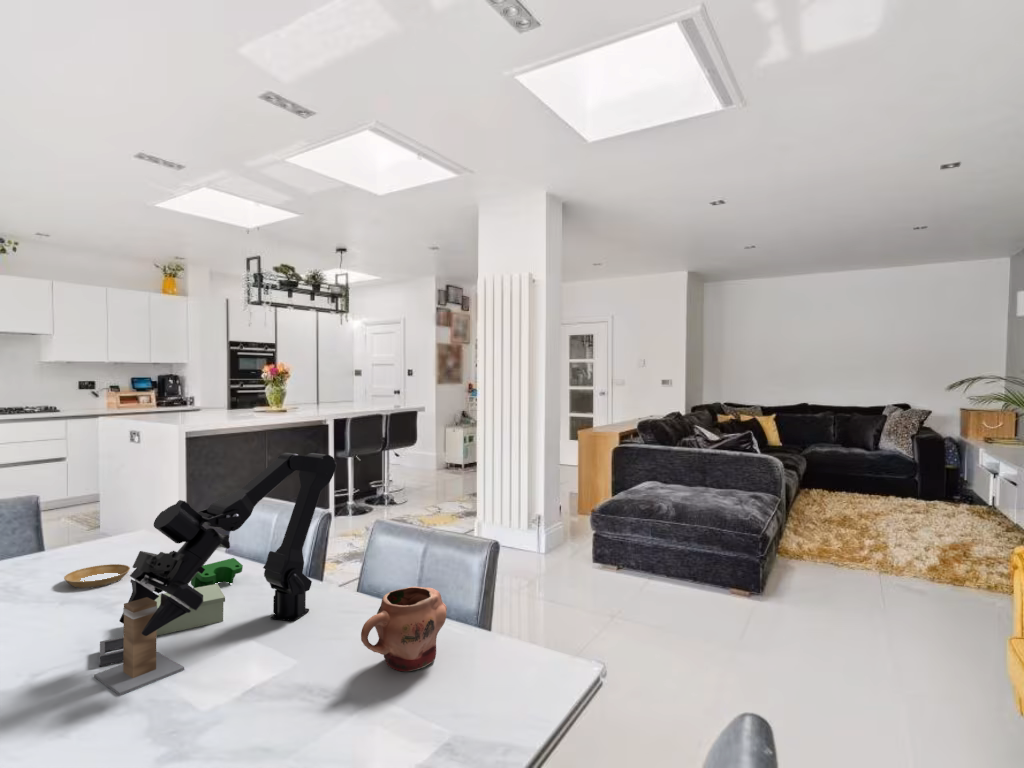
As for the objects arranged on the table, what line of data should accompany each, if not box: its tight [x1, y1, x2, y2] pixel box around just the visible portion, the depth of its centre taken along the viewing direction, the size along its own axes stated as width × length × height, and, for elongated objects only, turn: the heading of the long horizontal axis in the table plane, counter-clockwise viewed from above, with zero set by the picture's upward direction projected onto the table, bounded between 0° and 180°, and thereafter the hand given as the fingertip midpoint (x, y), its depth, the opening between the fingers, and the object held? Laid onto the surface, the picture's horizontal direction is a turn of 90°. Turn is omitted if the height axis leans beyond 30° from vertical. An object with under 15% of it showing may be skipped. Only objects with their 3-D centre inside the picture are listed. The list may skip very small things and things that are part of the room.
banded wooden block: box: [122, 597, 158, 678], centre depth 107 cm, size 4×4×13 cm
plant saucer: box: [63, 563, 131, 589], centre depth 155 cm, size 15×15×3 cm
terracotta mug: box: [360, 586, 448, 672], centre depth 112 cm, size 20×12×14 cm, turn 143°
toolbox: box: [154, 583, 226, 637], centre depth 130 cm, size 17×11×6 cm, turn 126°
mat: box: [93, 651, 185, 697], centre depth 107 cm, size 11×11×1 cm
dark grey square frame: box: [99, 636, 124, 667], centre depth 115 cm, size 8×8×2 cm
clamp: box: [190, 557, 244, 588], centre depth 153 cm, size 12×6×9 cm, turn 138°
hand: (132, 628), depth 106 cm, fingers open, 9 cm apart
